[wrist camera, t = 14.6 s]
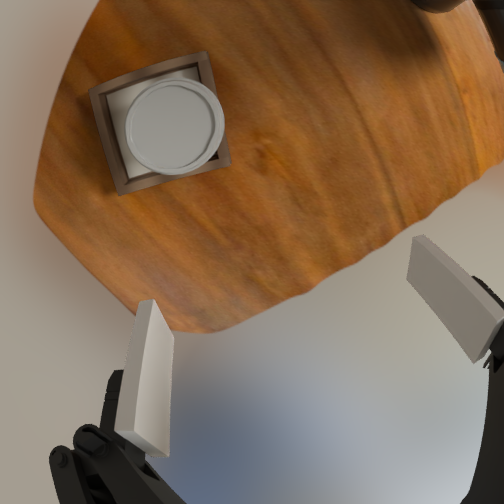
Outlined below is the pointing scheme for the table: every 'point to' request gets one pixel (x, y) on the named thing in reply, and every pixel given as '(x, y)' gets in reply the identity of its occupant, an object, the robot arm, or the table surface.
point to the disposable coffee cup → (174, 126)
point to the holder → (115, 110)
